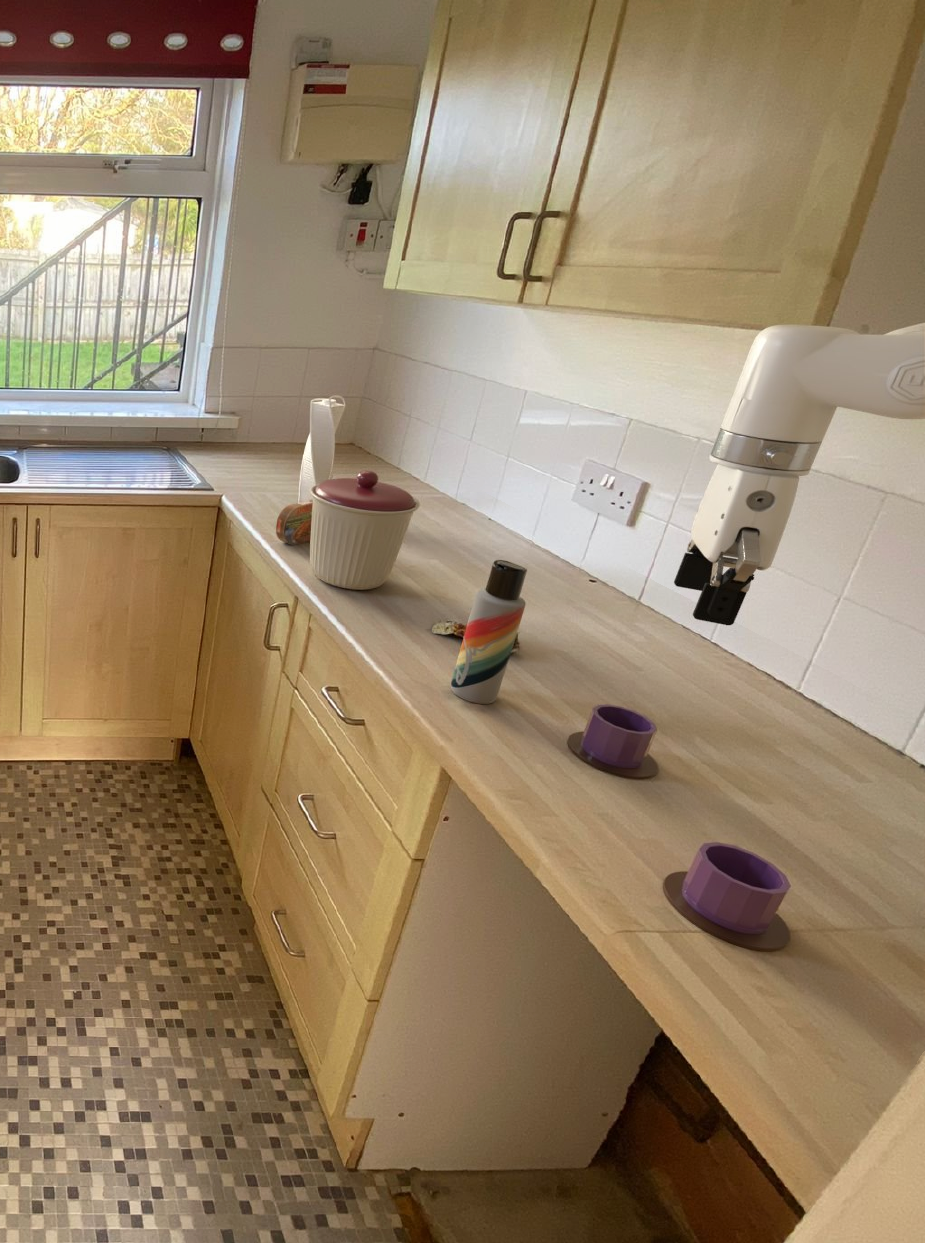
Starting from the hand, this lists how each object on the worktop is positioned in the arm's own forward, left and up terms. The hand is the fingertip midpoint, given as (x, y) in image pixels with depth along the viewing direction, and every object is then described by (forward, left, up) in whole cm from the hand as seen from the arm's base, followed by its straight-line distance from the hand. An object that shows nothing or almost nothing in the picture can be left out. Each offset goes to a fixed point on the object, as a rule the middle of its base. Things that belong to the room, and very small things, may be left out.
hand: (700, 604), depth 83 cm
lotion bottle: (+17, -9, -22) cm, 30 cm away
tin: (+49, -59, -22) cm, 80 cm away
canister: (+38, -42, -22) cm, 61 cm away
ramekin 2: (-4, +22, -22) cm, 31 cm away
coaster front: (-4, +22, -22) cm, 32 cm away
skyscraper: (+51, -80, -22) cm, 98 cm away
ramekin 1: (+2, -2, -22) cm, 22 cm away
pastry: (+17, -27, -22) cm, 39 cm away
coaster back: (+2, -2, -22) cm, 22 cm away
